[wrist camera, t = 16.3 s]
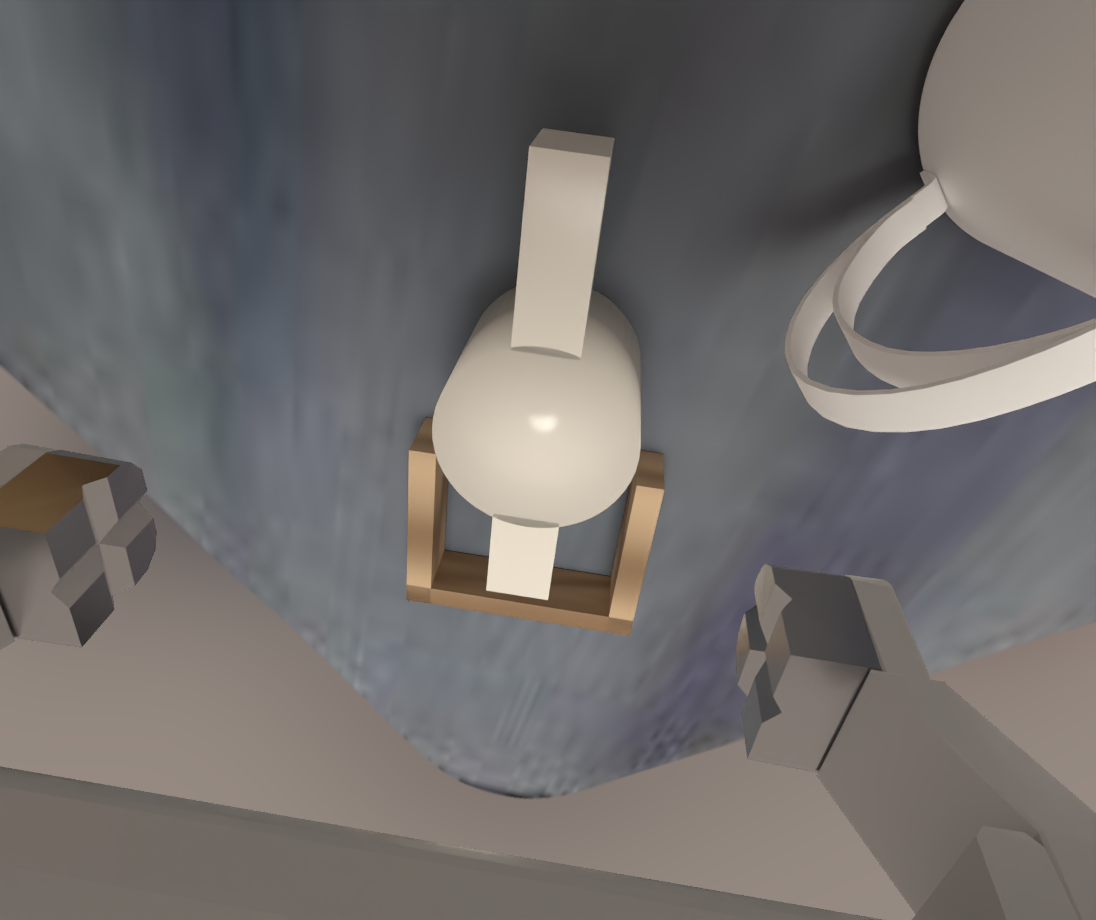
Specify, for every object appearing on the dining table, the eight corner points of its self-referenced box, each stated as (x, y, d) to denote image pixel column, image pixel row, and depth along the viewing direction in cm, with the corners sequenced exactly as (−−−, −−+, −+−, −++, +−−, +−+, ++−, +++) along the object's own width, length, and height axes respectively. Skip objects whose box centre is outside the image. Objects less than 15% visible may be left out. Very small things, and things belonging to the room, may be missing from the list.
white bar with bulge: (687, 132, 28) (699, 169, 22) (613, 511, 37) (607, 609, 31) (484, 104, 28) (441, 134, 22) (461, 487, 37) (427, 580, 31)
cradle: (425, 417, 35) (408, 450, 33) (662, 453, 35) (664, 489, 32) (421, 561, 40) (406, 599, 37) (630, 594, 40) (629, 635, 37)
